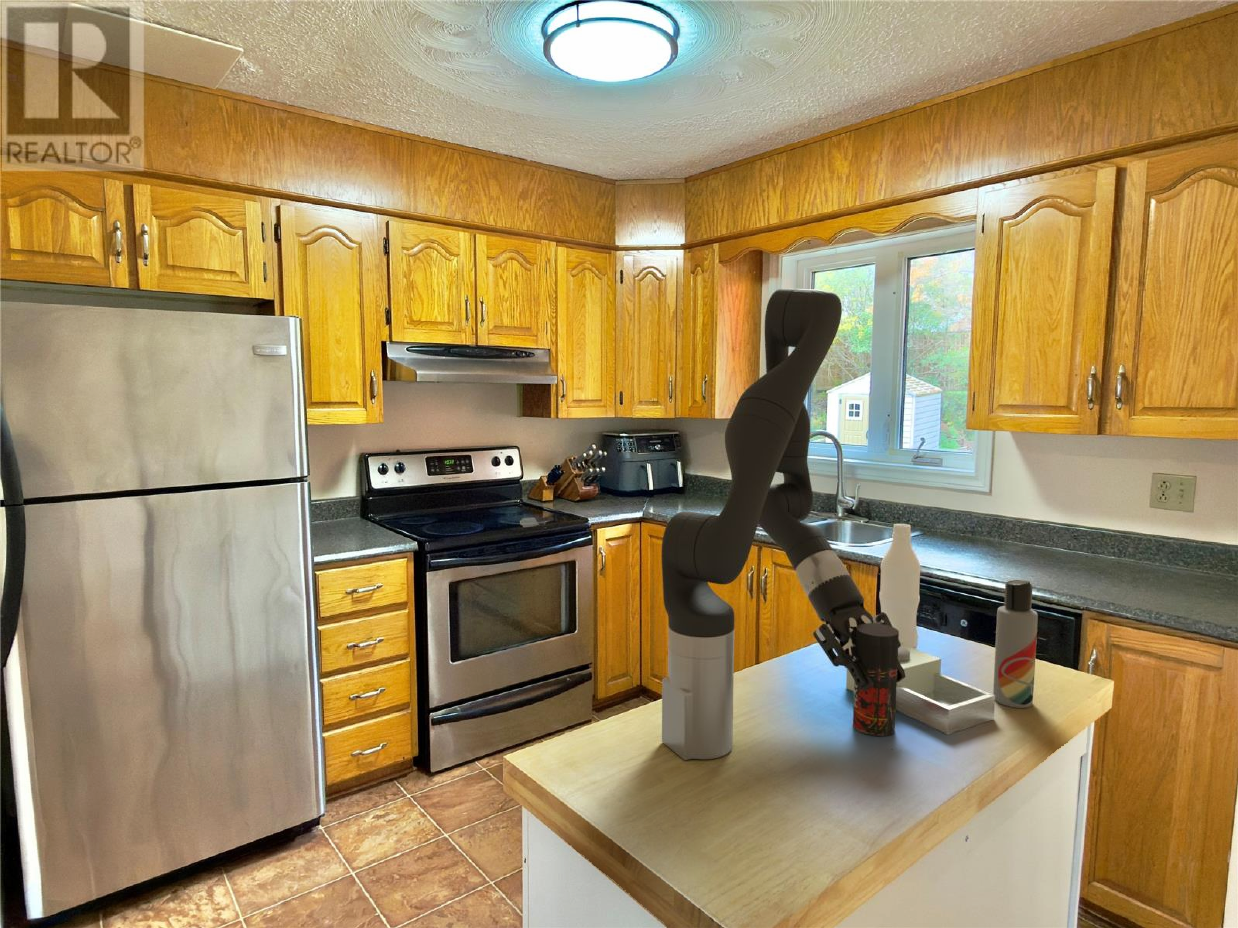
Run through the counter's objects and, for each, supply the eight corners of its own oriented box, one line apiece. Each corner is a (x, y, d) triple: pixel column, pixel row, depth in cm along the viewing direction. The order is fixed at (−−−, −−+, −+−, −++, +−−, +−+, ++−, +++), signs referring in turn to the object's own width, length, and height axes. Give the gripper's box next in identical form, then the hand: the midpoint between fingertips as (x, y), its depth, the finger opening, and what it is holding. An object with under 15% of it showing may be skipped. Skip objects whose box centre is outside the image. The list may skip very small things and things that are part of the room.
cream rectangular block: (888, 708, 113) (890, 666, 113) (846, 688, 121) (847, 648, 121) (939, 693, 119) (941, 653, 118) (895, 675, 127) (897, 636, 126)
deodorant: (844, 720, 109) (848, 625, 107) (877, 715, 111) (881, 621, 109) (869, 738, 103) (873, 638, 102) (903, 733, 105) (907, 634, 104)
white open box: (947, 734, 105) (948, 709, 104) (891, 707, 114) (892, 684, 113) (993, 719, 110) (995, 695, 109) (936, 694, 119) (937, 672, 118)
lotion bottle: (1029, 712, 112) (1037, 587, 110) (989, 702, 115) (996, 581, 114) (1035, 699, 117) (1042, 579, 115) (996, 691, 120) (1002, 574, 118)
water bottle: (905, 662, 133) (910, 530, 130) (870, 652, 138) (874, 524, 136) (924, 653, 137) (929, 525, 135) (889, 643, 143) (894, 520, 140)
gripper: (806, 578, 108) (864, 682, 99) (874, 568, 115) (934, 664, 106) (782, 603, 113) (834, 704, 104) (848, 592, 120) (903, 686, 111)
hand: (884, 683), depth 105 cm, fingers closed on deodorant, 6 cm apart
